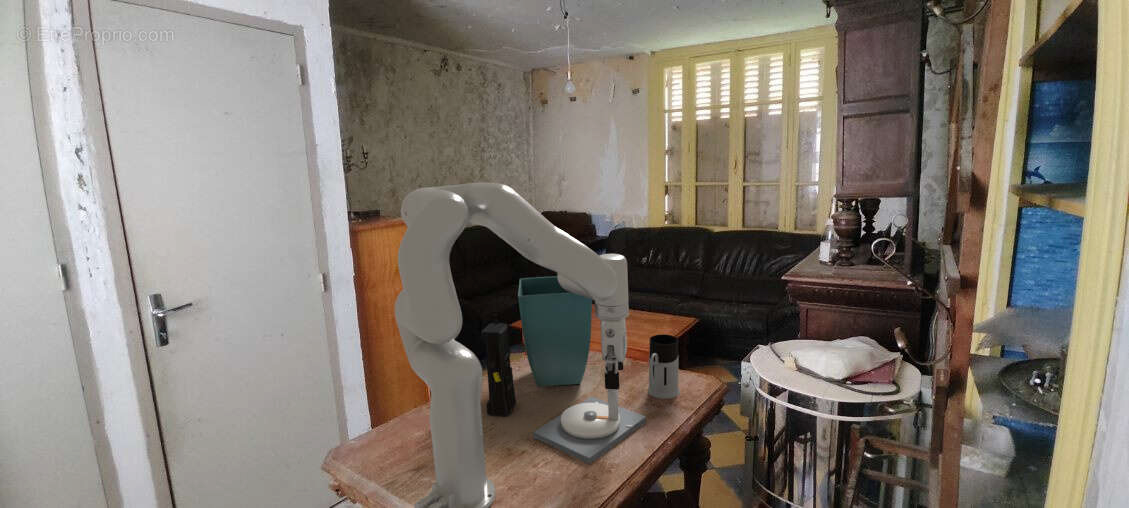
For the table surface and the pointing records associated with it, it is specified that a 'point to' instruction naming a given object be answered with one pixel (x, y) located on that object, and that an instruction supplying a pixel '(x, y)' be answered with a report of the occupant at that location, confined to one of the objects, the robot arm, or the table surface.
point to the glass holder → (663, 367)
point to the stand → (588, 447)
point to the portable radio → (499, 369)
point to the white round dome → (592, 418)
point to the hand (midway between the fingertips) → (614, 378)
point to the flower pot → (554, 330)
